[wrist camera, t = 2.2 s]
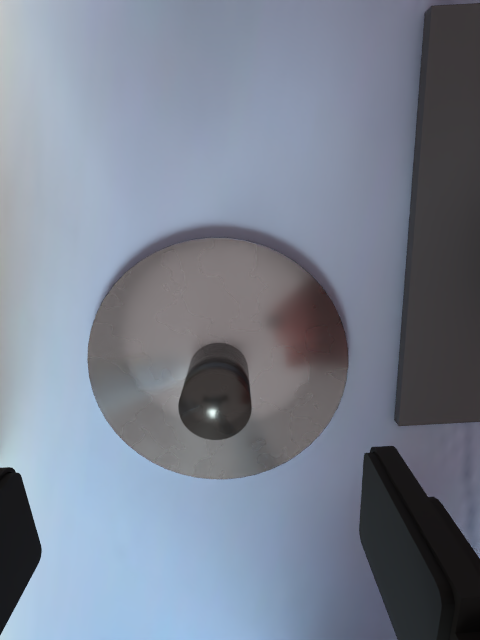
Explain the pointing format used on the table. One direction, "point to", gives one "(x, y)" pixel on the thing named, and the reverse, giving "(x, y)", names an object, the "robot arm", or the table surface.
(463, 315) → the plate
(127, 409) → the lid
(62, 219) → the table surface
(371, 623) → the table surface
